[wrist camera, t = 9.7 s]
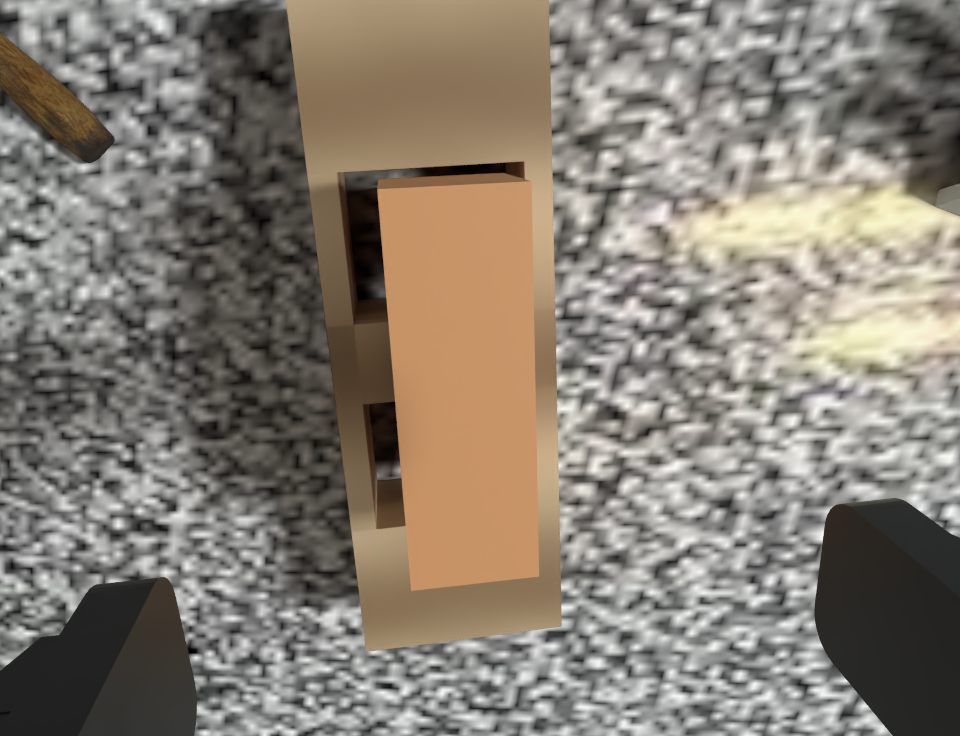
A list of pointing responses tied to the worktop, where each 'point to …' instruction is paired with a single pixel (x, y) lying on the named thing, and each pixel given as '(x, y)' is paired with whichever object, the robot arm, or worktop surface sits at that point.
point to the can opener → (51, 104)
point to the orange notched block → (463, 373)
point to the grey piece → (949, 199)
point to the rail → (364, 323)
